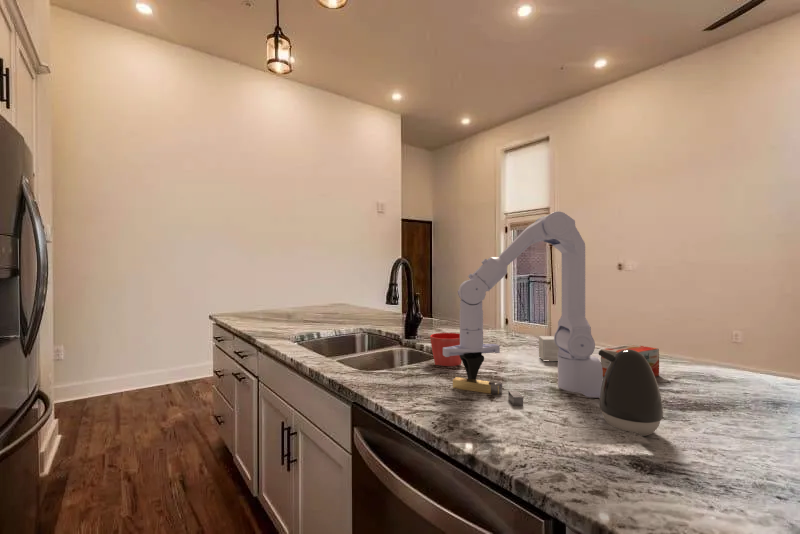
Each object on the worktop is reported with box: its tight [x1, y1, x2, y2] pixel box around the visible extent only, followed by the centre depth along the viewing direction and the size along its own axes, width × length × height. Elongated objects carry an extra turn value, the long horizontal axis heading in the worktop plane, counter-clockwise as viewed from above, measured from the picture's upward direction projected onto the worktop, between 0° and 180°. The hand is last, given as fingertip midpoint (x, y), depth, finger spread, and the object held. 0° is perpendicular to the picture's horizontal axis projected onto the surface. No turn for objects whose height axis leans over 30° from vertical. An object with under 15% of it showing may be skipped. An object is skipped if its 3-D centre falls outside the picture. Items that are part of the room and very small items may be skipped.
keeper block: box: [507, 390, 524, 407], centre depth 81 cm, size 2×4×2 cm, turn 179°
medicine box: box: [600, 343, 660, 378], centre depth 106 cm, size 15×8×8 cm, turn 119°
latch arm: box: [452, 376, 503, 396], centre depth 90 cm, size 12×3×2 cm, turn 64°
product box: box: [538, 335, 559, 361], centre depth 125 cm, size 6×6×7 cm
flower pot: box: [429, 332, 463, 367], centre depth 116 cm, size 11×11×10 cm
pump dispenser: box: [598, 349, 664, 437], centre depth 71 cm, size 10×10×15 cm
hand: (471, 383), depth 93 cm, fingers closed, pressing on latch arm
